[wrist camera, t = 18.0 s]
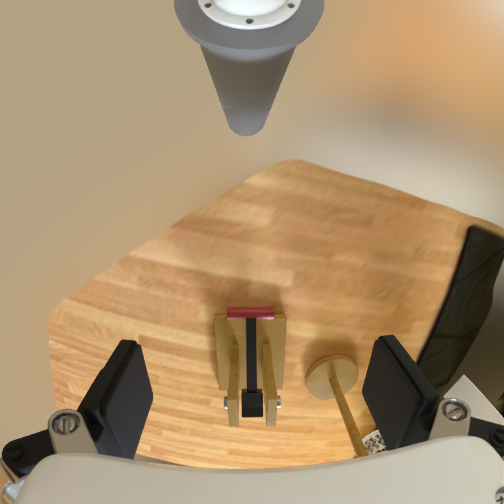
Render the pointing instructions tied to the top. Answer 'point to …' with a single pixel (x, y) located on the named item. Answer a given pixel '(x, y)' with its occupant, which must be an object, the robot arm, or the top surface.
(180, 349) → the top surface
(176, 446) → the top surface
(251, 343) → the switch lever
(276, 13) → the robot arm
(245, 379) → the switch bracket
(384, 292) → the top surface
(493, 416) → the milk
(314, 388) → the table lamp
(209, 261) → the top surface
